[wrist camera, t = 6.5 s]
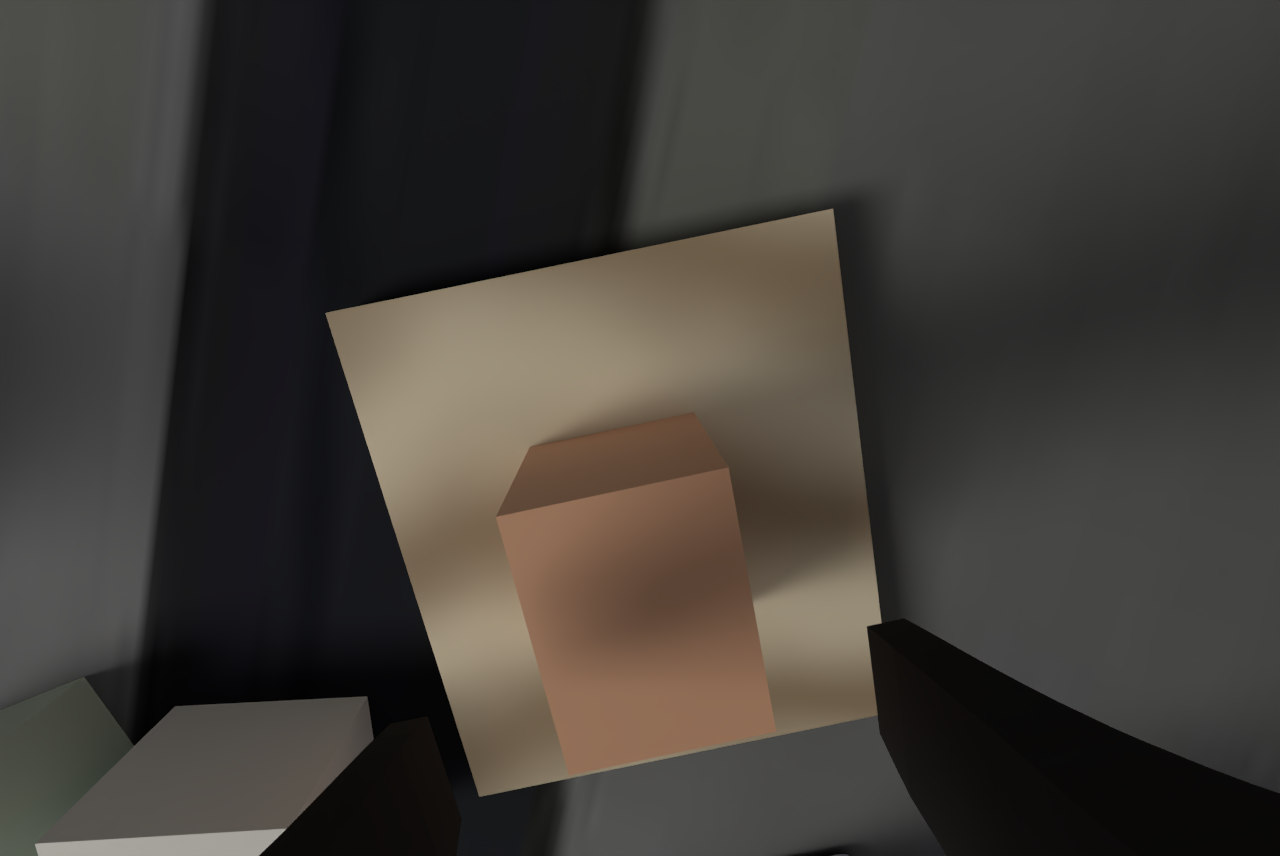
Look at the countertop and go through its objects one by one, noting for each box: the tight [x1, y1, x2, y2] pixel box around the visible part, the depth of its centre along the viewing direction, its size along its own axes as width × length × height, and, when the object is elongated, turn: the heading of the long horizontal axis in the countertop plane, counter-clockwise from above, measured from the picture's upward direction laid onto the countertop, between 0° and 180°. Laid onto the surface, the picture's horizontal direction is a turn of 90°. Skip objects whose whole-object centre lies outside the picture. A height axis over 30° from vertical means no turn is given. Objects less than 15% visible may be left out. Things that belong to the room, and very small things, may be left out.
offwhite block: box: [35, 696, 374, 856], centre depth 18 cm, size 6×4×5 cm
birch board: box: [326, 209, 881, 797], centre depth 18 cm, size 15×13×2 cm
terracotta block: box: [496, 412, 776, 775], centre depth 15 cm, size 6×4×5 cm
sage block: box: [0, 677, 134, 856], centre depth 18 cm, size 6×4×5 cm
